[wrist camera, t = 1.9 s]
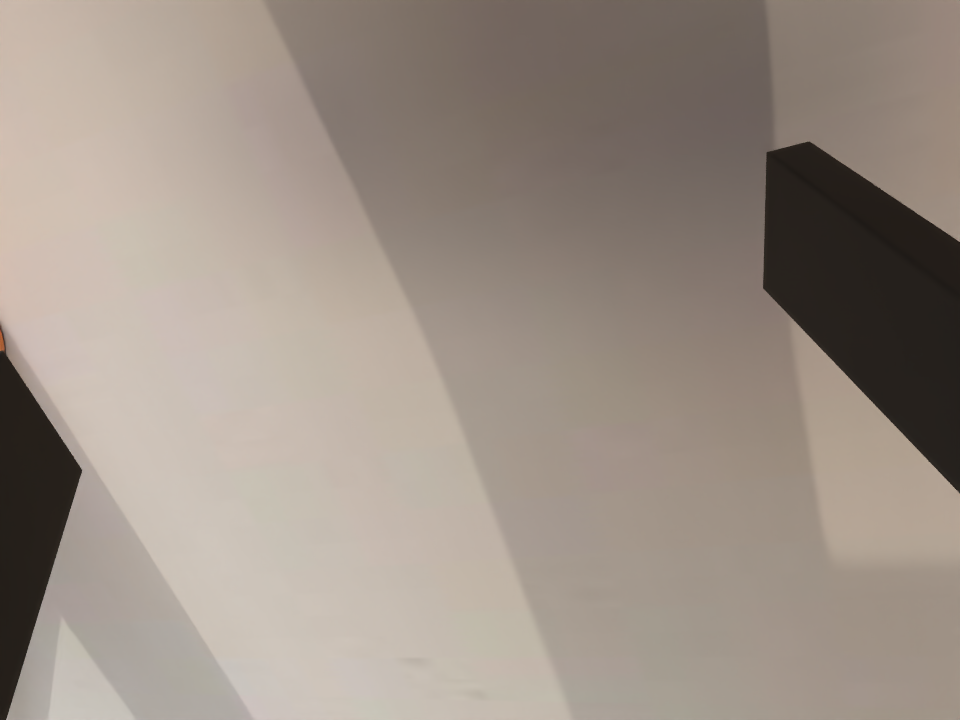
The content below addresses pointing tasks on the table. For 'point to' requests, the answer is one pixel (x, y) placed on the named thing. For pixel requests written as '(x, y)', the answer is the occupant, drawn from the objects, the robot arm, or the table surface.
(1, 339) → the jar
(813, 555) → the table surface
